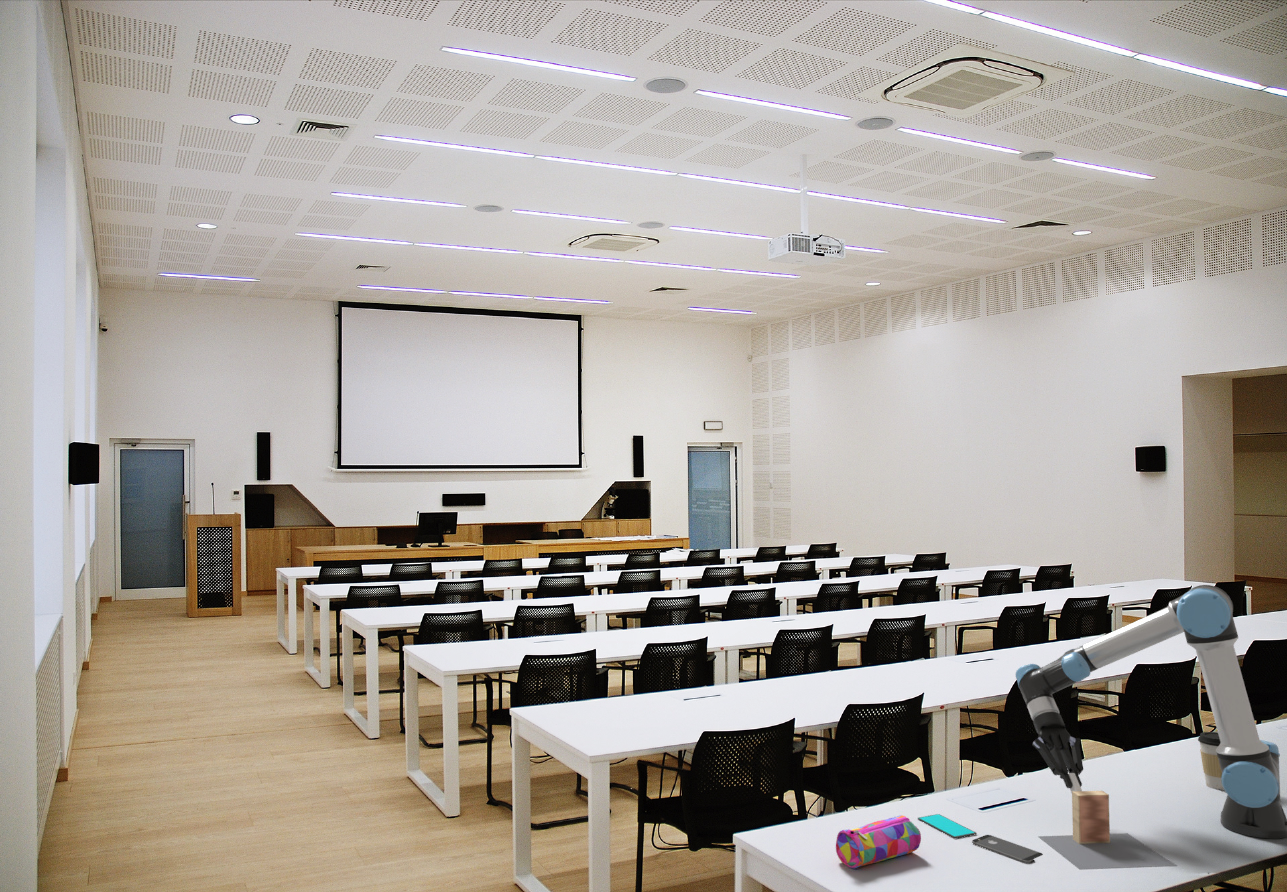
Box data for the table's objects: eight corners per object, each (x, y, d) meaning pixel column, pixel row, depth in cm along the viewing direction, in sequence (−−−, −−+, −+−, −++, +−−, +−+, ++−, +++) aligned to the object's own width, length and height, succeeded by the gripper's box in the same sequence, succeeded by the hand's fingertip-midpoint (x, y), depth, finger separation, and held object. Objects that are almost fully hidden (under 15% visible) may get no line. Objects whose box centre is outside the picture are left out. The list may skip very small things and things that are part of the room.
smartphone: (954, 837, 238) (917, 817, 252) (954, 840, 238) (917, 820, 252) (977, 832, 241) (938, 813, 254) (977, 836, 240) (938, 816, 254)
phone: (1045, 858, 226) (987, 837, 239) (1045, 854, 226) (987, 833, 239) (1027, 865, 222) (969, 844, 235) (1027, 861, 222) (969, 840, 235)
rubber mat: (1127, 835, 239) (1127, 833, 239) (1177, 868, 219) (1177, 865, 219) (1037, 838, 237) (1037, 836, 237) (1079, 871, 217) (1079, 869, 218)
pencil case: (858, 876, 216) (858, 837, 216) (831, 862, 224) (830, 824, 225) (924, 856, 227) (924, 819, 227) (896, 843, 235) (895, 807, 236)
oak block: (1103, 837, 236) (1102, 790, 236) (1110, 843, 233) (1109, 794, 233) (1073, 839, 236) (1071, 791, 236) (1079, 844, 232) (1078, 795, 233)
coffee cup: (1237, 784, 278) (1236, 734, 278) (1237, 793, 269) (1236, 742, 270) (1199, 778, 283) (1198, 729, 284) (1198, 788, 275) (1197, 737, 275)
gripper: (1064, 723, 259) (1098, 805, 242) (1019, 725, 259) (1050, 806, 241) (1073, 709, 254) (1109, 791, 237) (1027, 710, 253) (1060, 792, 236)
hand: (1079, 799), depth 239 cm, fingers closed
